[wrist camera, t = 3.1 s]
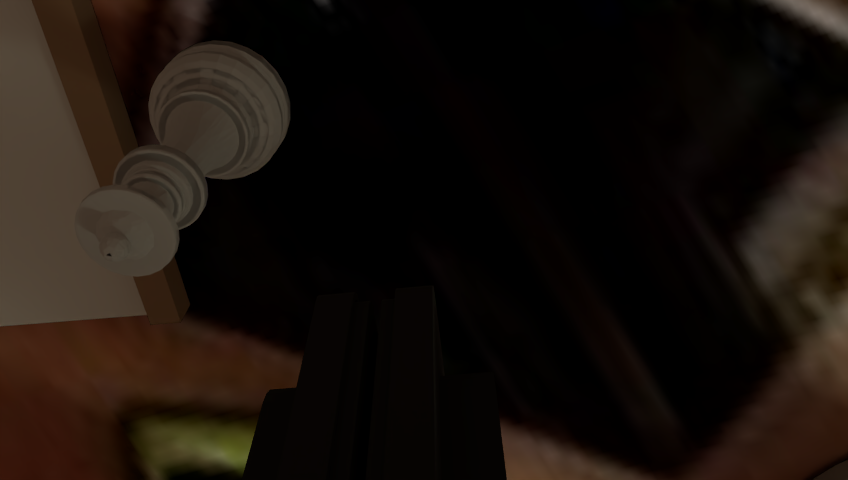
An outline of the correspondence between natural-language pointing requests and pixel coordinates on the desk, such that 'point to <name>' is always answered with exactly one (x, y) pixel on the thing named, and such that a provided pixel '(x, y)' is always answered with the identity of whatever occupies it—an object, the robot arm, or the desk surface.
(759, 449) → the desk surface
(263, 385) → the desk surface
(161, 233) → the chess piece
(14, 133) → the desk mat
